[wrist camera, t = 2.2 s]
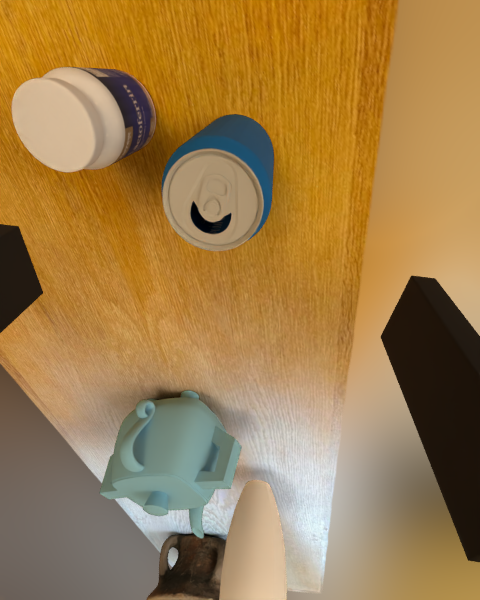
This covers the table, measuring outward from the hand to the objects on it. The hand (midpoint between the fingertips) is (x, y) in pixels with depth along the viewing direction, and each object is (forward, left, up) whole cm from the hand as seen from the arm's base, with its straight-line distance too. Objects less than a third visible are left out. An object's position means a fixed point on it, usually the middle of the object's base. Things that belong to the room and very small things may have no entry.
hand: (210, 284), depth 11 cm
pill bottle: (+10, -6, -20) cm, 23 cm away
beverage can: (+1, 0, -20) cm, 20 cm away
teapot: (+18, +38, -20) cm, 46 cm away
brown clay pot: (+32, +100, -20) cm, 106 cm away
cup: (+9, +56, -20) cm, 60 cm away
